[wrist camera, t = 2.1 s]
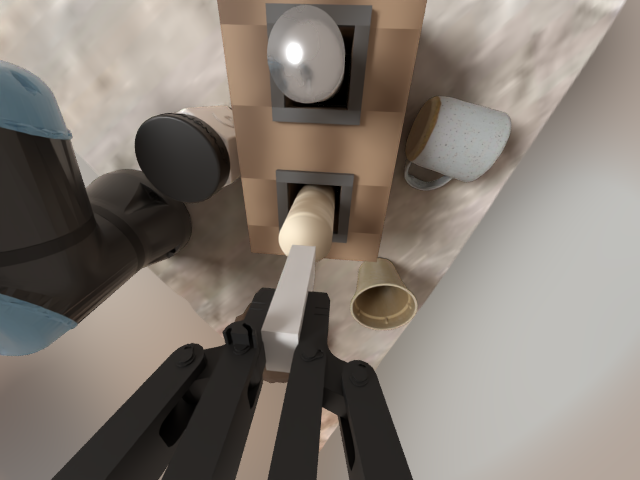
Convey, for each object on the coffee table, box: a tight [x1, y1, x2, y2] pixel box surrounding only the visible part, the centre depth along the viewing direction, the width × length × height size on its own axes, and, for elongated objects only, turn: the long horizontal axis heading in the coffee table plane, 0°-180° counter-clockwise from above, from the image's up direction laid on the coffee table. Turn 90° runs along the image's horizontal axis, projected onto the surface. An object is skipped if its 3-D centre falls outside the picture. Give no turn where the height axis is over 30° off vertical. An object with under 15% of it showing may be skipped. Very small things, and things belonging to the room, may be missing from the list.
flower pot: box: [350, 258, 418, 330], centre depth 38 cm, size 9×9×9 cm
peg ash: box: [279, 184, 336, 262], centre depth 23 cm, size 4×4×11 cm
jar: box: [135, 106, 241, 203], centre depth 28 cm, size 9×8×12 cm
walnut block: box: [217, 0, 427, 262], centre depth 26 cm, size 14×23×13 cm, turn 178°
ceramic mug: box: [404, 96, 511, 191], centre depth 28 cm, size 11×8×8 cm
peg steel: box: [267, 5, 345, 103], centre depth 17 cm, size 4×4×11 cm
